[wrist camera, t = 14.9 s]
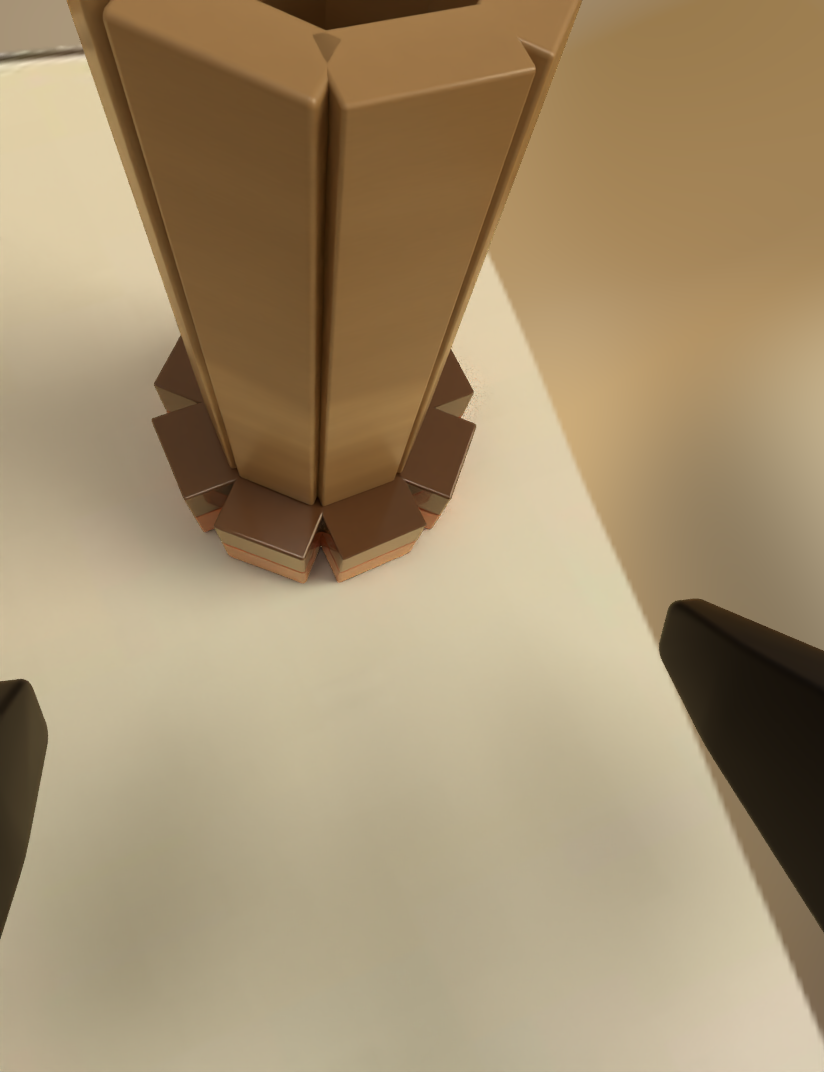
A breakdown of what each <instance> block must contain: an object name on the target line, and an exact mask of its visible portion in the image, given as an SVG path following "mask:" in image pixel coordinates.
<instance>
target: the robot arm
mask: <svg viewBox="0 0 824 1072" xmlns="http://www.w3.org/2000/svg"><path fill="white" fill-rule="evenodd" d="M659 651H660V656H661V659H662V661H663V663H664V665H665V667H666V669H667V671H668V673H669V675H670V677H671V679H672V681H673V683H674V685H675V687H676V689H677V691H678V693H679V695H680V697H681V699H682V701H683V703H684V705H685V707H686V709H687V711H688V713H689V715H690V717H691V719H692V721H693V723H694V725H695V727H696V729H697V731H698V733H699V735H700V736H701V738H702V740H703V742H704V744H705V746H706V747H707V749H708V751H709V752H710V754H711V755H712V757H713V759H714V761H715V762H716V764H717V765H718V767H719V768H720V770H721V772H722V773H723V775H724V776H725V778H726V780H727V781H728V783H729V784H730V786H731V787H732V789H733V791H734V792H735V794H736V795H737V797H738V798H739V800H740V802H741V803H742V805H743V806H744V808H745V809H746V811H747V813H748V814H749V816H750V817H751V819H752V820H753V822H754V824H755V825H756V827H757V828H758V830H759V831H760V833H761V835H762V836H763V838H764V839H765V841H766V843H767V844H768V846H769V847H770V849H771V850H772V852H773V854H774V855H775V857H776V858H777V860H778V861H779V863H780V865H781V866H782V868H783V869H784V871H785V872H786V874H787V875H788V877H789V879H790V880H791V882H792V883H793V885H794V887H795V888H796V890H797V891H798V893H799V895H800V896H801V897H802V899H803V901H804V902H805V904H806V906H807V907H808V909H809V910H810V912H811V913H812V915H813V917H814V918H815V920H816V921H817V923H818V924H819V926H820V928H821V929H822V930H823V932H824V651H823V650H820V649H818V648H816V647H813V646H811V645H808V644H806V643H804V642H801V641H799V640H797V639H794V638H792V637H790V636H787V635H785V634H782V633H780V632H778V631H775V630H773V629H770V628H768V627H766V626H763V625H761V624H759V623H756V622H754V621H752V620H749V619H747V618H744V617H742V616H740V615H737V614H735V613H733V612H730V611H728V610H725V609H723V608H721V607H718V606H716V605H714V604H711V603H709V602H706V601H704V600H702V599H687V600H678V601H675V602H673V603H672V604H671V605H670V606H669V608H668V611H667V615H666V619H665V623H664V627H663V631H662V634H661V639H660V643H659ZM47 744H48V730H47V725H46V722H45V719H44V717H43V714H42V711H41V708H40V706H39V703H38V700H37V698H36V695H35V692H34V690H33V688H32V686H31V684H30V683H29V682H28V681H26V680H24V679H16V680H8V681H0V938H1V935H2V932H3V929H4V926H5V923H6V919H7V916H8V913H9V910H10V907H11V903H12V900H13V897H14V894H15V891H16V888H17V884H18V881H19V878H20V874H21V871H22V867H23V864H24V860H25V857H26V852H27V847H28V843H29V838H30V833H31V828H32V823H33V817H34V812H35V807H36V802H37V796H38V791H39V786H40V781H41V776H42V770H43V765H44V760H45V755H46V749H47Z"/></svg>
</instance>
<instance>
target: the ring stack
mask: <svg viewBox="0 0 824 1072" xmlns="http://www.w3.org/2000/svg"><path fill="white" fill-rule="evenodd" d="M154 386H155V388H156V390H157V392H158V395H159V397H160V399H161V401H162V403H163V405H164V407H165V409H166V410H167V414H164V415H161V416H158V417H155V418H153V419H152V423H153V426H154V428H155V431H156V433H157V435H158V438H159V440H160V443H161V445H162V448H163V450H164V452H165V455H166V457H167V460H168V462H169V464H170V467H171V469H172V472H173V474H174V476H175V479H176V481H177V484H178V486H179V489H180V491H181V493H182V496H183V498H184V500H185V502H186V504H187V505H188V507H189V509H190V510H191V512H192V514H193V516H194V517H195V519H196V521H197V522H198V524H199V526H200V527H201V529H202V531H203V532H207V531H210V530H212V529H215V530H216V532H217V534H218V536H219V538H220V540H221V541H222V544H223V546H224V548H225V550H226V551H227V553H228V555H229V556H231V557H233V558H236V559H239V560H241V561H244V562H247V563H249V564H252V565H255V566H257V567H260V568H263V569H265V570H268V571H271V572H273V573H276V574H279V575H281V576H284V577H287V578H289V579H292V580H295V581H297V582H300V583H305V582H306V581H307V578H308V576H309V573H310V571H311V568H312V566H313V564H314V561H315V559H316V556H317V554H318V551H319V549H320V547H322V549H323V551H324V553H325V556H326V558H327V560H328V562H329V564H330V567H331V569H332V571H333V573H334V575H335V578H336V580H337V581H338V582H343V581H345V580H347V579H350V578H352V577H354V576H357V575H359V574H361V573H364V572H366V571H368V570H370V569H373V568H375V567H377V566H380V565H382V564H384V563H387V562H389V561H391V560H394V559H396V558H398V557H400V556H403V555H405V554H407V553H409V552H410V550H411V549H412V547H413V545H414V544H415V542H416V540H417V539H418V538H419V536H420V535H421V533H422V531H423V530H424V528H427V529H432V528H433V526H434V524H435V523H436V521H437V520H438V518H439V517H440V515H441V513H442V512H443V510H444V509H445V507H446V506H447V504H448V503H449V501H450V499H451V498H452V495H453V492H454V489H455V486H456V483H457V481H458V478H459V475H460V472H461V469H462V466H463V463H464V461H465V458H466V455H467V452H468V449H469V446H470V444H471V441H472V438H473V435H474V432H475V429H476V424H474V423H472V422H469V421H467V420H464V419H462V418H461V416H462V415H463V413H464V411H465V409H466V407H467V405H468V403H469V401H470V399H471V397H472V395H473V393H474V391H473V389H472V388H471V386H470V384H469V382H468V380H467V378H466V376H465V374H464V372H463V371H462V369H461V367H460V365H459V363H458V361H457V359H456V357H455V356H454V354H453V352H452V350H451V349H450V352H449V355H448V357H447V360H446V363H445V365H444V368H443V371H442V373H441V376H440V379H439V381H438V384H437V386H436V389H435V392H434V394H433V397H432V400H431V402H430V405H429V408H428V410H427V413H426V415H425V418H424V420H423V423H422V425H421V427H420V430H419V432H418V435H417V437H416V440H415V442H414V444H413V447H412V449H411V452H410V454H409V456H408V459H407V461H406V464H405V466H404V469H403V471H402V472H401V473H398V472H397V473H396V476H395V478H394V480H393V481H391V482H388V483H385V484H383V485H380V486H377V487H375V488H372V489H369V490H367V491H364V492H361V493H359V494H356V495H353V496H350V497H348V498H345V499H342V500H340V501H337V502H334V503H332V504H329V505H326V506H322V505H321V502H320V500H319V498H318V496H317V498H316V500H315V503H314V504H313V505H308V504H306V503H304V502H301V501H299V500H296V499H294V498H291V497H289V496H286V495H284V494H281V493H279V492H277V491H274V490H272V489H269V488H267V487H264V486H262V485H259V484H257V483H254V482H252V481H249V480H247V479H245V478H242V477H241V476H240V475H239V473H238V470H237V468H234V469H232V468H231V467H230V466H229V463H228V461H227V458H226V456H225V453H224V451H223V448H222V446H221V443H220V441H219V438H218V436H217V433H216V431H215V428H214V426H213V424H212V421H211V419H210V416H209V414H208V411H207V409H206V406H205V404H204V401H203V398H202V395H201V392H200V389H199V386H198V383H197V380H196V378H195V375H194V372H193V369H192V366H191V363H190V360H189V357H188V354H187V351H186V348H185V345H184V342H183V339H182V337H181V336H180V337H179V339H178V341H177V343H176V345H175V347H174V348H173V350H172V352H171V354H170V356H169V357H168V359H167V361H166V363H165V365H164V366H163V368H162V370H161V372H160V374H159V375H158V377H157V379H156V381H155V383H154Z"/></svg>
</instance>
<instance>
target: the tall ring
mask: <svg viewBox="0 0 824 1072" xmlns="http://www.w3.org/2000/svg"><path fill="white" fill-rule="evenodd" d="M581 2H582V0H67V3H68V6H69V9H70V12H71V15H72V18H73V21H74V24H75V27H76V29H77V32H78V35H79V38H80V41H81V44H82V47H83V50H84V53H85V56H86V59H87V62H88V65H89V68H90V70H91V73H92V76H93V79H94V82H95V85H96V88H97V91H98V94H99V97H100V100H101V103H102V106H103V108H104V111H105V114H106V117H107V120H108V123H109V126H110V129H111V132H112V135H113V138H114V141H115V144H116V146H117V149H118V152H119V155H120V158H121V161H122V164H123V167H124V170H125V173H126V176H127V179H128V182H129V185H130V187H131V190H132V193H133V196H134V199H135V202H136V205H137V208H138V211H139V214H140V217H141V220H142V223H143V225H144V228H145V231H146V234H147V237H148V240H149V243H150V246H151V249H152V252H153V255H154V258H155V261H156V263H157V266H158V269H159V272H160V275H161V278H162V281H163V284H164V287H165V290H166V293H167V296H168V299H169V301H170V304H171V307H172V310H173V313H174V316H175V319H176V322H177V325H178V328H179V331H180V334H181V337H182V339H183V342H184V345H185V348H186V351H187V354H188V357H189V360H190V363H191V366H192V369H193V372H194V375H195V378H196V380H197V383H198V386H199V389H200V392H201V395H202V398H203V401H204V404H205V406H206V409H207V411H208V414H209V416H210V419H211V421H212V424H213V426H214V428H215V431H216V433H217V436H218V438H219V441H220V443H221V446H222V448H223V451H224V453H225V456H226V458H227V461H228V463H229V466H230V467H231V468H232V469H234V468H237V470H238V473H239V475H240V476H241V477H242V478H245V479H247V480H249V481H252V482H254V483H257V484H259V485H262V486H264V487H267V488H269V489H272V490H274V491H277V492H279V493H281V494H284V495H286V496H289V497H291V498H294V499H296V500H299V501H301V502H304V503H306V504H308V505H313V504H314V503H315V500H316V498H317V496H318V498H319V500H320V502H321V505H322V506H326V505H329V504H332V503H334V502H337V501H340V500H342V499H345V498H348V497H350V496H353V495H356V494H359V493H361V492H364V491H367V490H369V489H372V488H375V487H377V486H380V485H383V484H385V483H388V482H391V481H393V480H394V478H395V476H396V473H397V472H398V473H401V472H402V471H403V469H404V466H405V464H406V461H407V459H408V456H409V454H410V452H411V449H412V447H413V444H414V442H415V440H416V437H417V435H418V432H419V430H420V427H421V425H422V423H423V420H424V418H425V415H426V413H427V410H428V408H429V405H430V402H431V400H432V397H433V394H434V392H435V389H436V386H437V384H438V381H439V379H440V376H441V373H442V371H443V368H444V365H445V363H446V360H447V357H448V355H449V352H450V349H451V347H452V344H453V341H454V339H455V336H456V334H457V331H458V328H459V326H460V323H461V320H462V318H463V315H464V312H465V310H466V307H467V304H468V302H469V299H470V296H471V294H472V291H473V289H474V286H475V283H476V281H477V278H478V275H479V273H480V270H481V267H482V265H483V262H484V259H485V257H486V254H487V252H488V249H489V246H490V244H491V241H492V238H493V235H494V233H495V230H496V228H497V225H498V222H499V220H500V217H501V214H502V212H503V209H504V206H505V204H506V201H507V199H508V196H509V193H510V190H511V188H512V185H513V182H514V180H515V177H516V175H517V172H518V169H519V167H520V164H521V162H522V159H523V156H524V153H525V151H526V148H527V146H528V143H529V140H530V138H531V135H532V132H533V130H534V127H535V124H536V122H537V119H538V117H539V114H540V111H541V109H542V106H543V103H544V101H545V98H546V95H547V93H548V90H549V87H550V85H551V82H552V79H553V77H554V74H555V72H556V69H557V66H558V64H559V61H560V58H561V56H562V53H563V50H564V48H565V45H566V42H567V40H568V37H569V34H570V32H571V29H572V27H573V24H574V21H575V19H576V16H577V13H578V11H579V8H580V5H581Z"/></svg>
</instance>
